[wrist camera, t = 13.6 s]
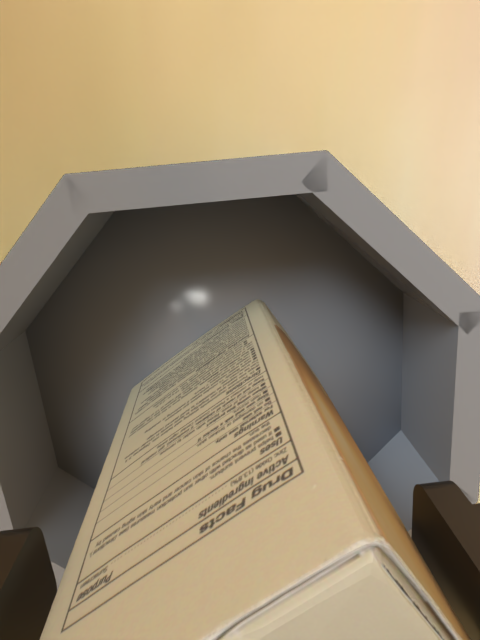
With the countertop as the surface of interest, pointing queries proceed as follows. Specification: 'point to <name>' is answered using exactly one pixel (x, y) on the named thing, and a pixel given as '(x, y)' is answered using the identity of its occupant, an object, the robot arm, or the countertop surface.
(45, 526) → the ceramic bowl
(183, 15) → the countertop surface
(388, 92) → the countertop surface
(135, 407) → the skincare box
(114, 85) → the countertop surface
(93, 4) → the countertop surface
